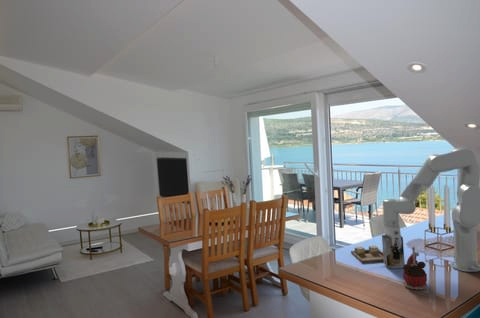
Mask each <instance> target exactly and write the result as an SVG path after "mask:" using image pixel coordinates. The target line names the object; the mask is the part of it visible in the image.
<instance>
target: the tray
mask: <svg viewBox="0 0 480 318" xmlns="http://www.w3.org/2000/svg"><path fill="white" fill-rule="evenodd" d="M378 252H379V254H377V255H371V254H370V253H369V248H368V249H365V255H363V256H358V255H357V254H356V253H355V250H351V251H350V254H351V255H352V256H353V257H354V258H355V259H356V260H358V261H359V262H360V264H373V263H374V264H375V263H384V259H383V250H381V249H380V248H378Z"/></svg>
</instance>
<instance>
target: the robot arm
mask: <svg viewBox="0 0 480 318" xmlns="http://www.w3.org/2000/svg"><path fill="white" fill-rule="evenodd" d="M476 157H477V156H476V153H475V152H474V151H473V150H472V149H471V148H466V147H454V148H453V149H452V150H450V152H446V153H443V154H437V153H436V154H430V155H429V156H428V157H427V158H426V160H425V162H424V163H423V164H422V166H421V167H420V169H419V171H418V172H417V174H416V175H415V176H414V178H413V179H412V180H411V181H410V183H409V184H408V185H407V186H406V187H405V188H404V190H403V192H402V193H401V194H400V196H399V197H398V199H395V198H388V199H383V201H382V210H383V211H382V212H383V213H382V215H383V227H384V235H386V236H388V237H389V238H390V239H391V245H392V246H393V250H394V251H393V259H400V248H401V245H402V241H401V236H402V233H401V228H400V214H401V215H411V214H414V212H416V209H417V206H416V204H415V201H416V200H417V198H418V197H419V196H420V195H421V194H422V193H424V192H425V191H427V190H428V189H430V188H431V187H432V185H433V184H434V182H435V181H436V179H438V176H440V173H446V172H450V171H454V170H458V169H459V175H458V176H459V177H458V183H457V184H458V185H457V191H456V196H457V199H458V200H460V201H461V202H460V204H457V205H455V206H454V208H453V209H452V212H451V220H452V221H451V222H452V227H453V243H454V245H453V246H454V260H455V261H453V262H452V263H451V267H452V269H455V270H456V271H461V272H467V273H477V272H480V264H479V261H478V247H477V246H478V243H477V229H476V228H477V227H479V226H480V165H479V162H478V161H477V159H476ZM394 244H397V245H394ZM395 247H396V248H395Z"/></svg>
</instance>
